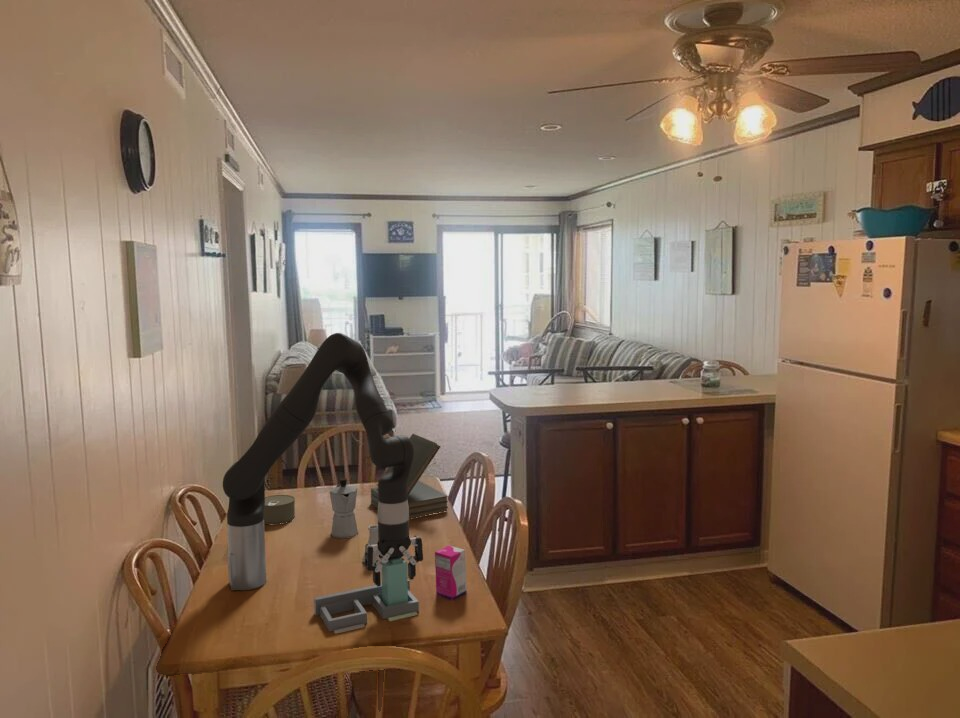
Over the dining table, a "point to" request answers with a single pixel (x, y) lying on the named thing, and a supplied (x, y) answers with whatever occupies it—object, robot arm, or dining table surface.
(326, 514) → the dining table surface
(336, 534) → the coffee maker
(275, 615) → the dining table surface
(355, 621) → the socket panel
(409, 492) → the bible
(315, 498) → the dining table surface
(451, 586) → the supplement box
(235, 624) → the dining table surface
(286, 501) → the can
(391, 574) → the plug
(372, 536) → the flask
